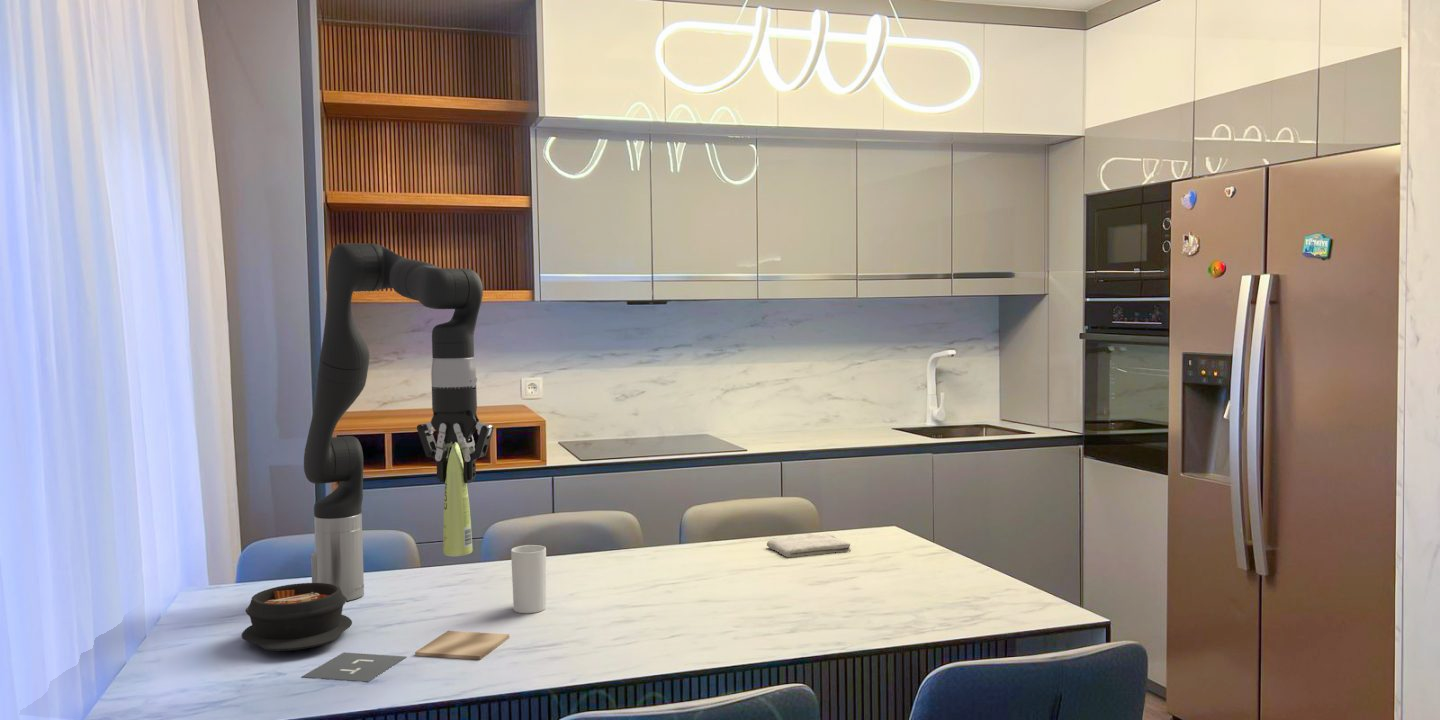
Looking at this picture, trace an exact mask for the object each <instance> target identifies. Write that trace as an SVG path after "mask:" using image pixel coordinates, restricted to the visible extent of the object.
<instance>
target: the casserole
mask: <svg viewBox="0 0 1440 720" xmlns="http://www.w3.org/2000/svg"><path fill="white" fill-rule="evenodd" d="M346 602H347V598H346V597H345V596H344V595H343V594H342V591H341V589H340V588H339V587H338V586H336V585H332V584H326V583H312V582H300V583H293V584H285V585H281V586H276V587H272V588H268V589H265V590H262V591H259V592H257V593H256V594H254V595H253V596H252V597H251V599H250V603H249V605H248V606H247V607H246V608H245V614H247V616H248V617H249V618H250V622H251V623H250V624H251V625H250V626H248V627H247V628H245V629H244V630H243V632H241V635H240V637H241V639H243V640H244V641H245V642H248V643H251V644H253V645H257V646H259V647H260V648H262V649H264V650H266V651H271V652H277V651H278V652H281V651H282V652H283V651H285V652H286V651H294V650H296V651H297V650H303V649H308V648H309V649H310V648H315V647H319V646H324V645H327V644H330V643H333V642H335V641H336V640H338V639H339V637H340V636H341V635H342V633H344V632H345V631H346V630H347V629H349V628H350V627H352V625H353V621H352V619H351V618H350V617H349V616H346V615H345V614H343V608H344V605H345V604H346Z"/></svg>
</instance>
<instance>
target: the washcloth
mask: <svg viewBox="0 0 1440 720" xmlns="http://www.w3.org/2000/svg"><path fill="white" fill-rule="evenodd" d="M766 546H767V547H768V548H769V550H771V549H772V550H771V551H773V550H775V551H774V552H776V551H777V552H776V553H778V552H779V553H780V554H779V553H778V554H779V555H781V554H782V555H781V556H783V555H784V556H783V557H785V556H786V557H785V558H787V557H792V558H798V557H797V556H802V557H805V556H804V555H811V556H815V555H814V554H820V555H827V554H826V553H829V554H836V553H835V552H839V553H846V552H847V551H849V552H852V550H851V549H852V548H850V547H851V542H848V541H846V540H842V539H840V538H839V537H837V536H835V535H831V534H829V533H825V534H813V533H807V534H802V535H792V536H790V535H789V536H784V537H778V538H777V537H776V538H775V537H774V538H771V539H769V540H767V542H766ZM847 553H848V552H847Z"/></svg>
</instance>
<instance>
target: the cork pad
mask: <svg viewBox="0 0 1440 720" xmlns="http://www.w3.org/2000/svg"><path fill="white" fill-rule="evenodd" d="M509 637H511V636H510V634H509V633H494V632H492V633H491V632H477V631H476V632H474V631H463V630H462V631H459V630H447V631H445V632H443V634H442V633H441V635H439V636H438V637H436V638H435V639H432V641H430V642H428V643H427V644H426V645H424V646H422V647H421V648H419V649H418V650H416V651H414V656H416V657H417V656H419V657H435V658H447V659H448V658H449V659H464V660H465V659H466V660H477V661H478V660H479V661H480V660H481V659H482V660H483V658H484V657H486V656H487V655H489V654H490V653H491V652H493V651H494V650H495V649H497V647H499V646H500V645H502V644H503V643H504V642H505V640H506V641H507V640H508V639H510V638H509ZM493 649H494V650H493Z"/></svg>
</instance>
